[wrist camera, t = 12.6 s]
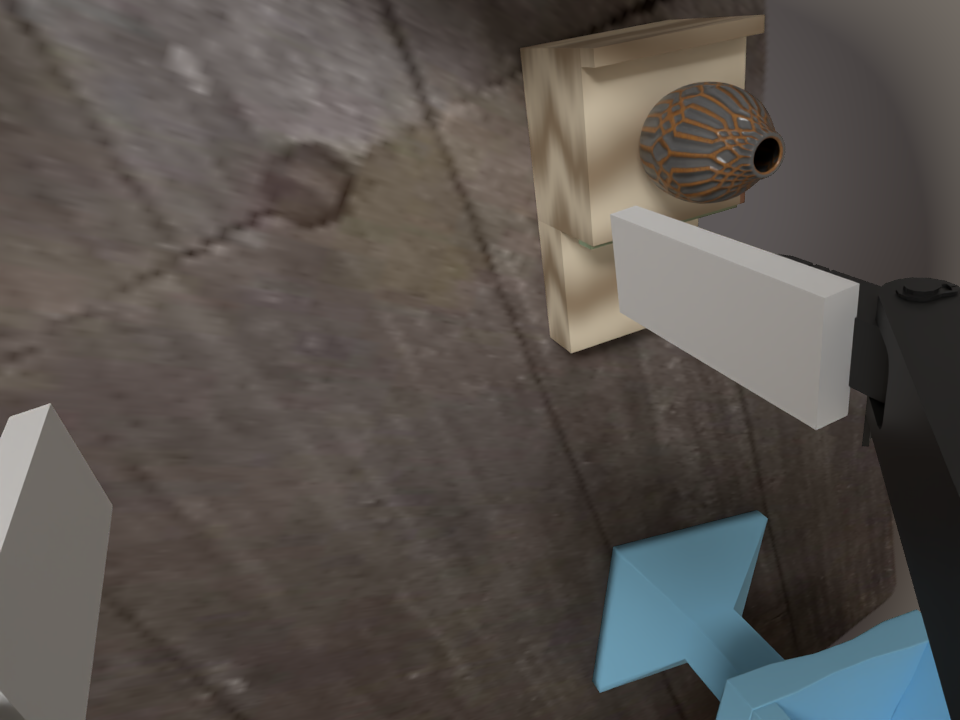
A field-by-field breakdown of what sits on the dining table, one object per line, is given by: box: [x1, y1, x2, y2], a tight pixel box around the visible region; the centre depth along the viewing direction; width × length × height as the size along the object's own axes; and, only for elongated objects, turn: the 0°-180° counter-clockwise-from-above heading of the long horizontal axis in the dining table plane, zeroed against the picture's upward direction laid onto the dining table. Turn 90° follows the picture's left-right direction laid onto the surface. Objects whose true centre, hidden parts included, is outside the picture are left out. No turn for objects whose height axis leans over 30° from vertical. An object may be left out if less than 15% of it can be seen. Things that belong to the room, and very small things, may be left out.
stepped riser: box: [520, 15, 765, 353], centre depth 49 cm, size 22×12×10 cm, turn 9°
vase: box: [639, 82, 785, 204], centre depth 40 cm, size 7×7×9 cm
